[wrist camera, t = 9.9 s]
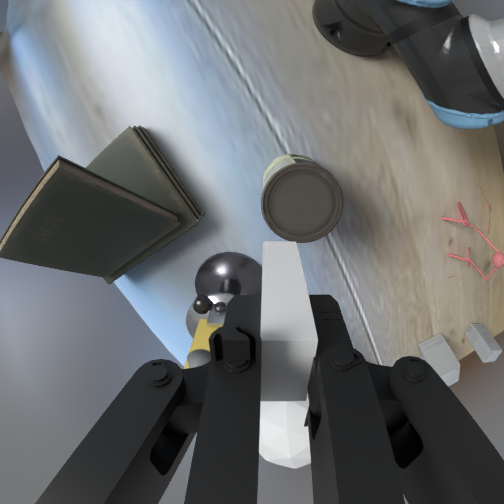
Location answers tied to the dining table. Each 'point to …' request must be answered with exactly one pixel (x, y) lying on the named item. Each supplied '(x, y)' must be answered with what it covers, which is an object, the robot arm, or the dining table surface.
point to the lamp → (284, 433)
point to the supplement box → (440, 358)
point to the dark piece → (102, 211)
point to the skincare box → (483, 342)
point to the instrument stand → (222, 287)
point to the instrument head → (200, 346)
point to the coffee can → (300, 199)
